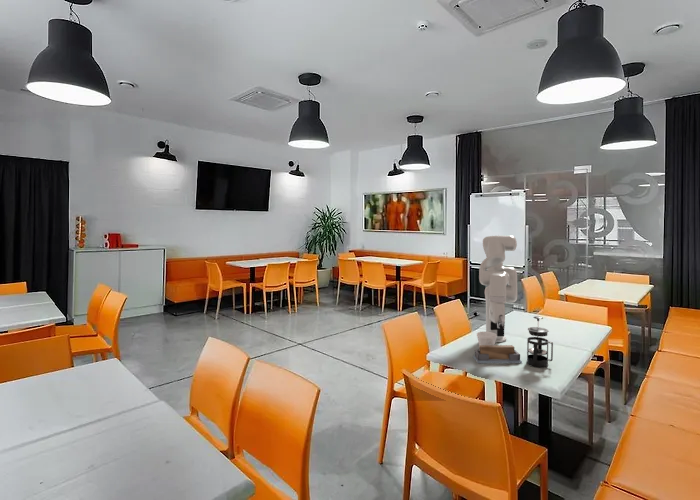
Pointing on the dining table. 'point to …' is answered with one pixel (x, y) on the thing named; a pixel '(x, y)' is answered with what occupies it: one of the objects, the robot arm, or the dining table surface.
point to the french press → (538, 347)
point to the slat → (497, 351)
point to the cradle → (485, 359)
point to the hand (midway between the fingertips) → (497, 332)
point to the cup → (486, 338)
